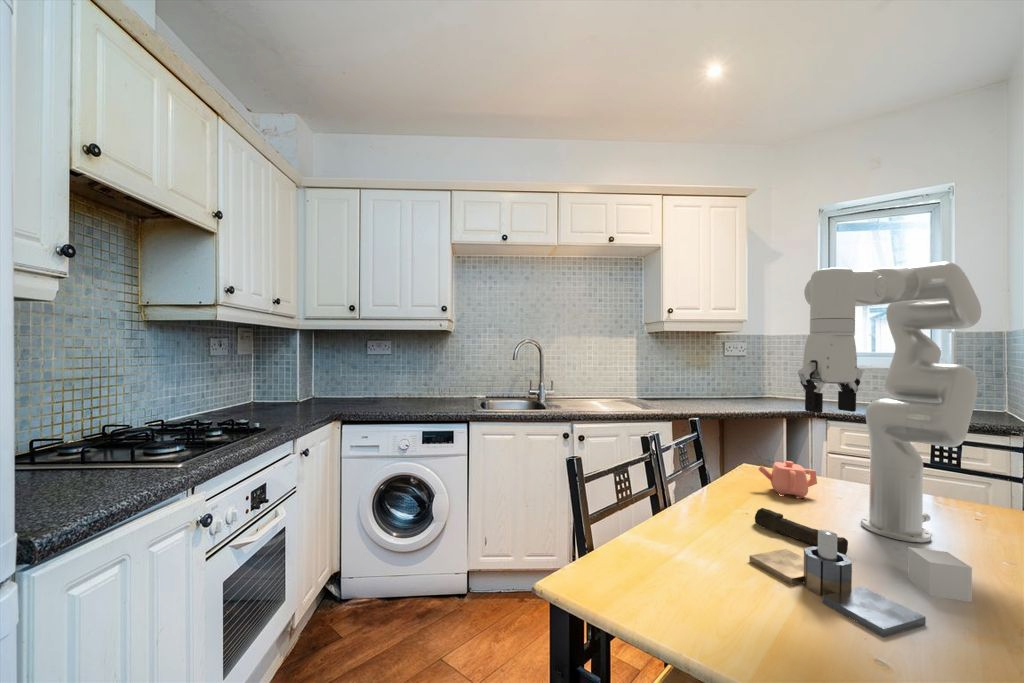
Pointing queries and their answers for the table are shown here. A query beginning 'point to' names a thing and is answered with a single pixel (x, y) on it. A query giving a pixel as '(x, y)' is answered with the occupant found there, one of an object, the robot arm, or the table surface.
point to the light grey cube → (940, 574)
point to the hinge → (839, 589)
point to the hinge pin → (827, 545)
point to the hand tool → (793, 529)
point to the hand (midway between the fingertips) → (830, 411)
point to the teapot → (790, 478)
